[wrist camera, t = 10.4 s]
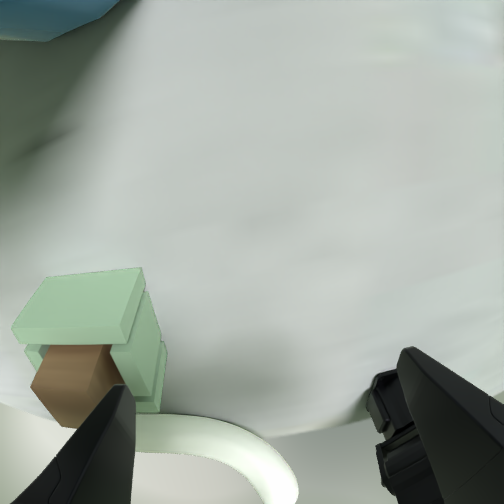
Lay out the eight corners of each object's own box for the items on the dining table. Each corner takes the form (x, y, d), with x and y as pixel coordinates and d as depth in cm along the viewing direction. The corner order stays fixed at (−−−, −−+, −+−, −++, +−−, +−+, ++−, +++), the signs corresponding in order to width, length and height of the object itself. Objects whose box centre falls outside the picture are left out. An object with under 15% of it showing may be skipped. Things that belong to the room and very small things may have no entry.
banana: (107, 384, 26) (78, 525, 13) (294, 414, 30) (322, 539, 17) (108, 410, 28) (86, 534, 15) (277, 436, 32) (297, 549, 19)
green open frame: (141, 267, 20) (119, 325, 15) (167, 352, 24) (159, 412, 19) (46, 277, 20) (10, 327, 15) (82, 354, 24) (63, 408, 18)
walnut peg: (137, 335, 23) (115, 432, 15) (93, 336, 23) (61, 426, 15) (122, 293, 21) (86, 392, 13) (76, 297, 21) (30, 387, 13)
